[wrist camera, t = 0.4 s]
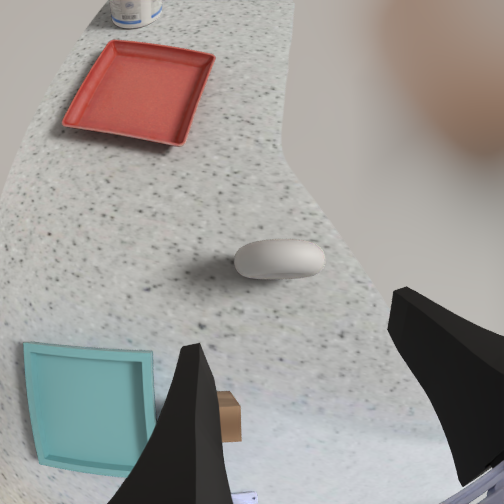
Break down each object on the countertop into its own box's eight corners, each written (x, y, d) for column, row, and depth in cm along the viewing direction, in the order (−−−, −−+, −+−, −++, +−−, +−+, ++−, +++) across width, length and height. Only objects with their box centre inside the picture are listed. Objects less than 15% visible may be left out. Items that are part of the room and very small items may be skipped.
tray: (161, 470, 32) (160, 479, 29) (45, 457, 28) (39, 464, 26) (152, 350, 35) (150, 353, 32) (31, 341, 31) (23, 342, 29)
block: (230, 421, 35) (241, 441, 28) (197, 422, 34) (201, 443, 27) (229, 391, 36) (240, 405, 29) (196, 391, 35) (199, 407, 28)
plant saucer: (214, 67, 45) (217, 53, 42) (183, 158, 41) (184, 146, 38) (112, 52, 42) (110, 38, 39) (65, 137, 38) (59, 125, 35)
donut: (227, 281, 38) (243, 269, 29) (227, 253, 39) (243, 231, 30) (306, 282, 41) (343, 270, 31) (305, 255, 41) (340, 236, 32)
